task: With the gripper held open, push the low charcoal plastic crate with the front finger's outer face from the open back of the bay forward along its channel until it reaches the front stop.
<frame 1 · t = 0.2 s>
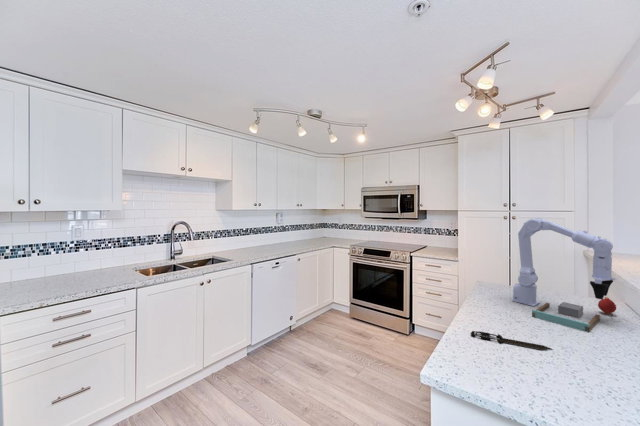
hand: (601, 297, 120), 10 cm above the counter, fingers open, 7 cm apart
bay: (566, 317, 123), on the counter
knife: (509, 343, 102), on the counter
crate: (570, 314, 127), on the counter
red rounded lump: (606, 314, 126), on the counter
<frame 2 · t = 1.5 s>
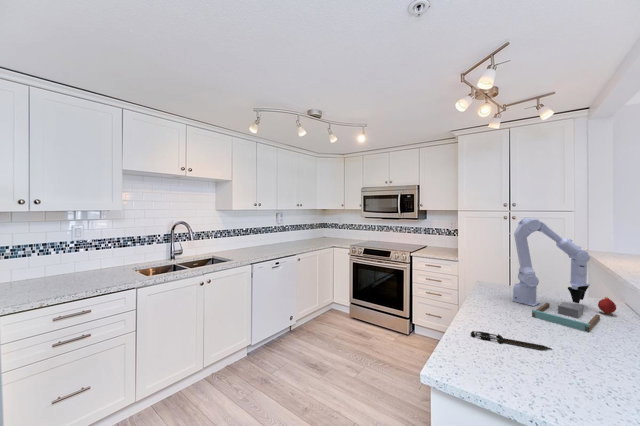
hand: (578, 300, 134), 3 cm above the counter, fingers open, 7 cm apart
nothing on the counter moved.
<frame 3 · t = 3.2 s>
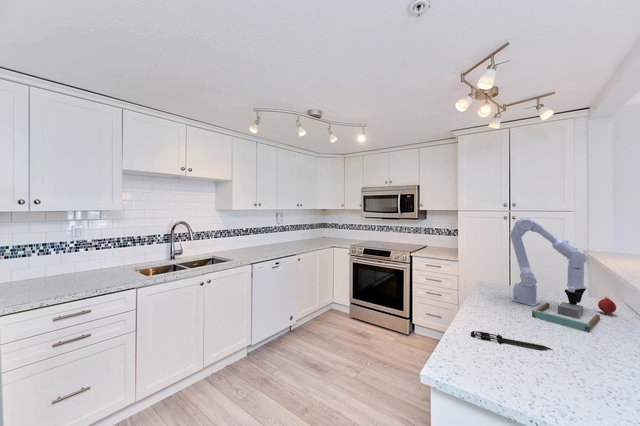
hand: (574, 303, 131), 3 cm above the counter, fingers open, 7 cm apart
nothing on the counter moved.
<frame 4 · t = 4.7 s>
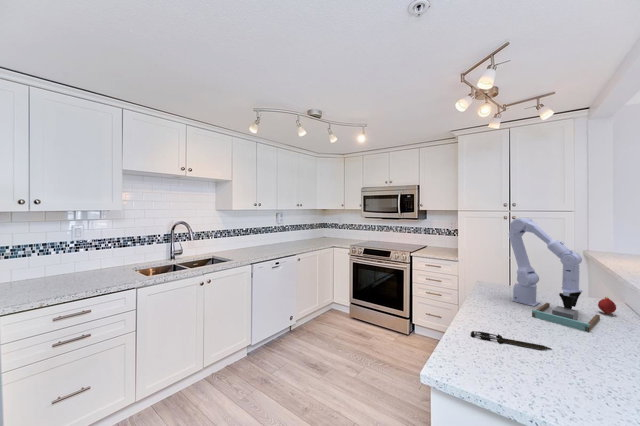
hand: (570, 308, 126), 3 cm above the counter, fingers open, 7 cm apart
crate: (564, 319, 122), on the counter, touching gripper
everything else where it was.
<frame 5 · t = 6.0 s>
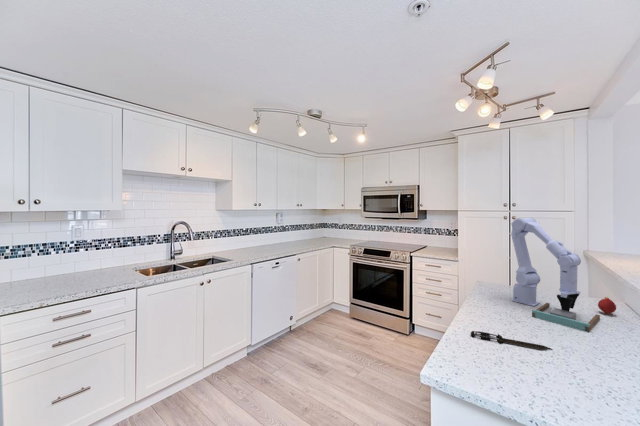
hand: (567, 309, 124), 3 cm above the counter, fingers open, 7 cm apart
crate: (562, 321, 119), on the counter
everything else where it was.
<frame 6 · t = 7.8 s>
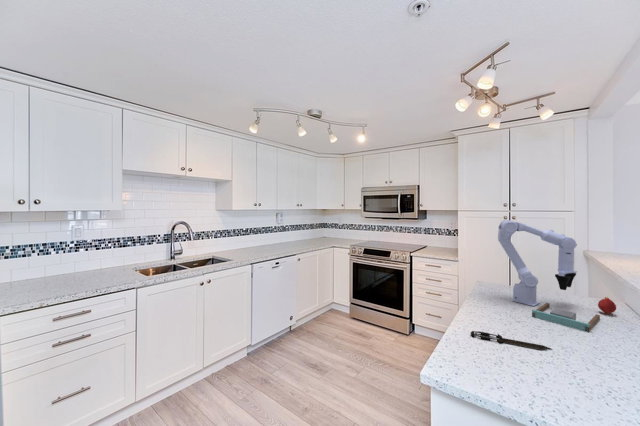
hand: (565, 288, 135), 9 cm above the counter, fingers open, 7 cm apart
nothing on the counter moved.
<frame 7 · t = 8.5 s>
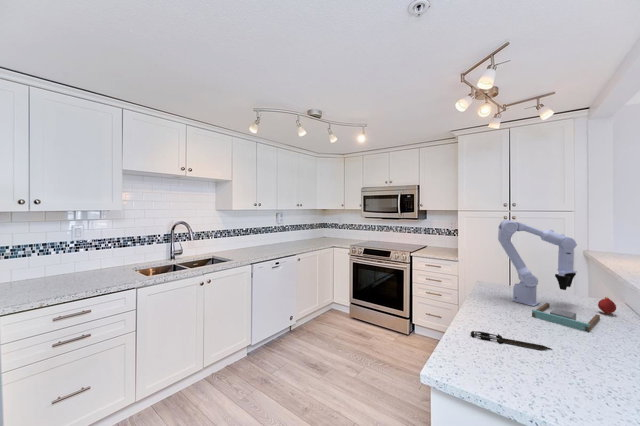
hand: (565, 288, 135), 9 cm above the counter, fingers open, 7 cm apart
nothing on the counter moved.
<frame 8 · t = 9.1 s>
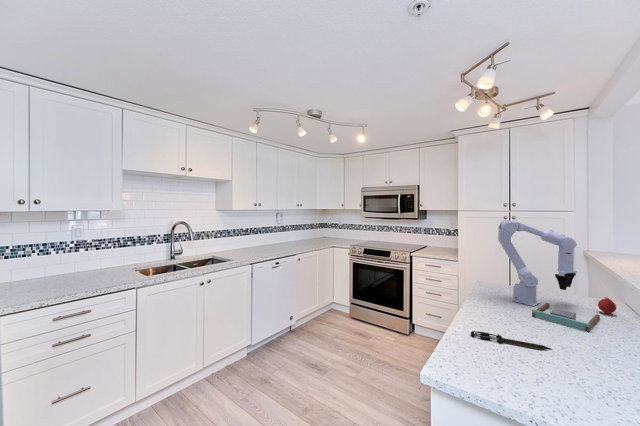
hand: (565, 288, 135), 9 cm above the counter, fingers open, 7 cm apart
nothing on the counter moved.
at the end: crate inside the target area (0.7 cm from its centre), on the counter; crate tilted 0°; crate moved 12.7 cm from its start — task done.
